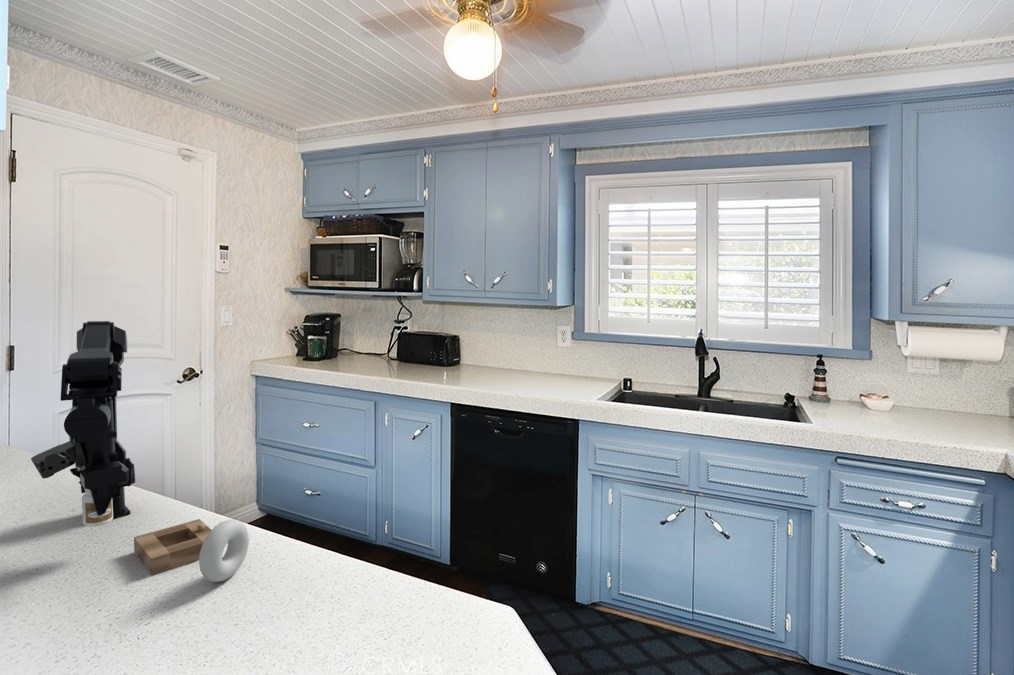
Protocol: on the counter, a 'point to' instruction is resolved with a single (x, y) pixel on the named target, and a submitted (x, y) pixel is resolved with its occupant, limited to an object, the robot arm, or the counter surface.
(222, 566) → the donut
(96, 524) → the pill bottle
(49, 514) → the counter surface
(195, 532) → the socket block
